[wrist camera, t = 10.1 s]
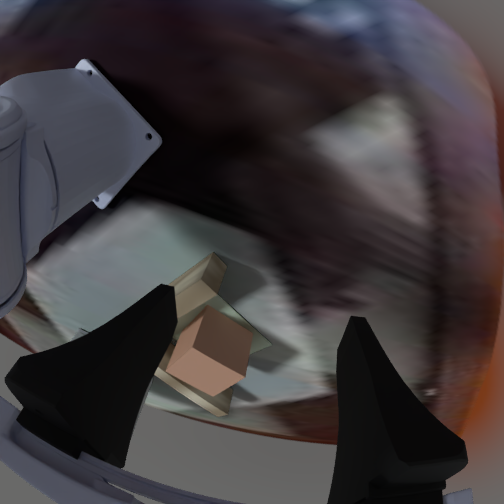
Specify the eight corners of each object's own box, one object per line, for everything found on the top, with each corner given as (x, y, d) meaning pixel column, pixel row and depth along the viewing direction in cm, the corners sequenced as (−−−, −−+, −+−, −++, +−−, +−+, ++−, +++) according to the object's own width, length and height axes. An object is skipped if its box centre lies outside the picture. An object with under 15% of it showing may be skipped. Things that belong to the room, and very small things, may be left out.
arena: (125, 316, 29) (111, 340, 26) (213, 252, 23) (201, 279, 20) (223, 392, 34) (217, 416, 31) (319, 357, 28) (319, 386, 25)
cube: (181, 331, 28) (165, 371, 24) (207, 304, 26) (192, 347, 22) (223, 356, 29) (213, 396, 25) (253, 333, 27) (245, 377, 23)
